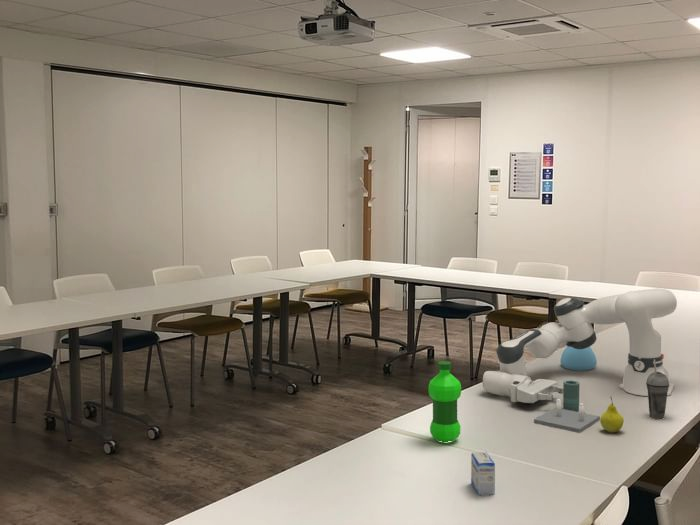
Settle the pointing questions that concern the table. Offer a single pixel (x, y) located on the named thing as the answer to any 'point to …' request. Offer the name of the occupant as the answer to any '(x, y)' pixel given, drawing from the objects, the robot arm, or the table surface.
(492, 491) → the medicine box
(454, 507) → the table surface
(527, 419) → the table surface
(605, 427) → the fruit
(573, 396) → the sleeve
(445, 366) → the plastic bottle
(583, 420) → the pin board
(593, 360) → the sugar bowl
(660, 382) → the beverage cup
